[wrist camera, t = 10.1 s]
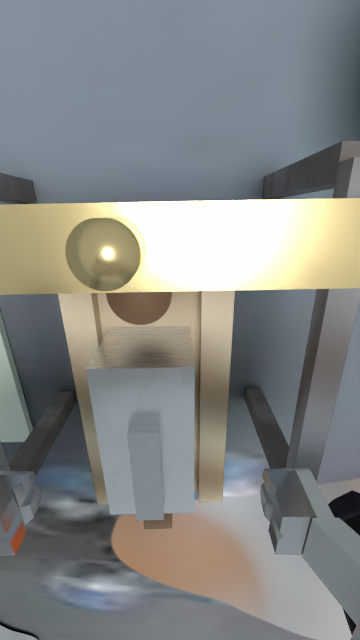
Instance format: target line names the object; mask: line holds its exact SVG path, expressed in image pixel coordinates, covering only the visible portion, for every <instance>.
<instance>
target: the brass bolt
mask: <svg viewBox="0 0 360 640" xmlns="http://www.w3.org/2000/svg"><path fill="white" fill-rule="evenodd" d="M342 288H360V198H336V199H280V200H225V201H169V202H114V203H58V204H2V205H0V295H13V294H68V293H123V292H178V291H233V290H287V289H342Z"/></svg>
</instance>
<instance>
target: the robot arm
mask: <svg viewBox="0 0 360 640" xmlns="http://www.w3.org/2000/svg"><path fill="white" fill-rule="evenodd" d="M35 479H36V476H35V473H34V471H0V556H15V555H16V553H17V551H18V549H19V547H20V545H21V543H22V541H23V539H24V537H25V535H26V533H27V530H26V524H27V523H28V522H29V521H31V520H32V519H33V518H34V516H35V514H36V512H37V510H38V507H39V503H40V499H41V496H40V488H39V486H37V485H36V484H35V483H34V481H35ZM263 479H264V483H263V484H262V485H261V503H262V507H263V511H264V515H265V517H266V518H267V519H268V520H269V521H270V525H269V533H270V537H271V541H272V544H273V547H274V551H275V554H292V555H293V554H294V555H302V557H303V558H304V559H305V561H306V562H307V563H308V564H309V566H310V567H311V568H312V569H313V571H314V572H315V573H316V574H317V576H318V577H319V578H320V580H321V581H322V582H323V583H324V585H325V586H326V587H327V588H328V590H329V591H330V592H331V593H332V595H333V596H334V597H335V598H336V600H337V601H338V602H339V604H340V605H341V606H342V607H343V609H344V610H345V611H346V612H347V614H348V615H349V616H350V618H351V619H352V620H353V621H354V623H355V624H356V625H357V626H356V628H355V631H354V633H353V635H352V637H351V639H350V640H360V536H359V535H358V534H357V533H356V532H355V531H354V530H353V529H351V528H350V527H349V526H348V525H347V524H346V523H345V522H343V521H342V520H341V519H340V518H334V516H333V514H332V512H331V510H330V508H329V506H328V504H327V502H326V500H325V498H324V496H323V494H322V492H321V490H320V488H319V486H318V484H317V482H316V480H315V478H314V476H313V474H312V472H311V471H310V470H309V469H308V468H295V469H292V468H276V469H264V471H263ZM0 640H37V639H36V638H34V637H32V636H29V635H26V634H23V633H19V632H15V631H11V630H9V629H7V628H5V627H3V626H1V625H0Z"/></svg>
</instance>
